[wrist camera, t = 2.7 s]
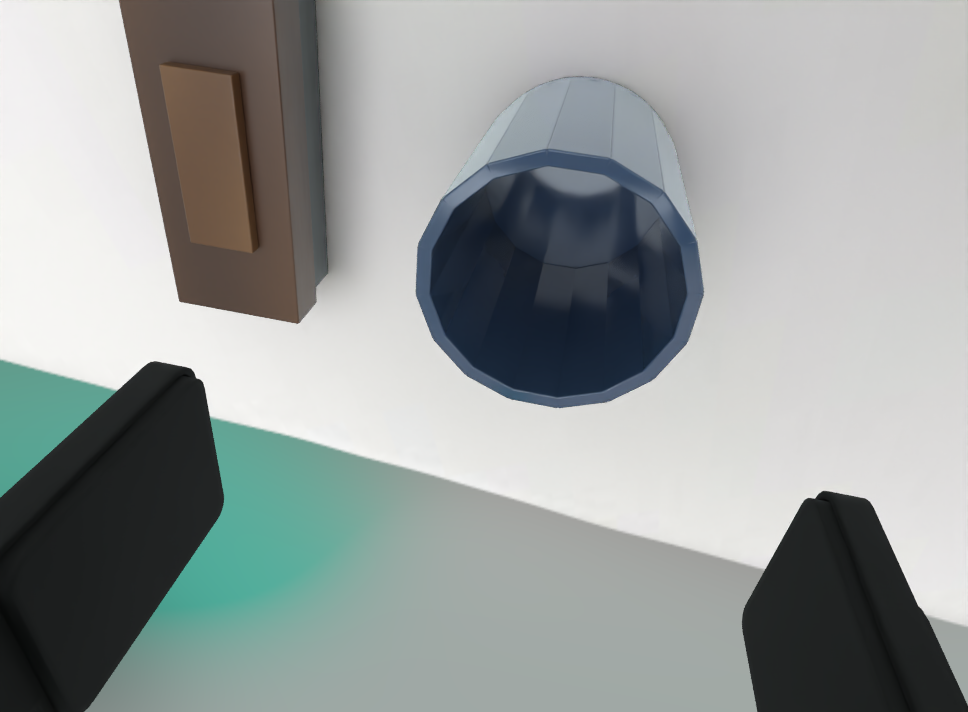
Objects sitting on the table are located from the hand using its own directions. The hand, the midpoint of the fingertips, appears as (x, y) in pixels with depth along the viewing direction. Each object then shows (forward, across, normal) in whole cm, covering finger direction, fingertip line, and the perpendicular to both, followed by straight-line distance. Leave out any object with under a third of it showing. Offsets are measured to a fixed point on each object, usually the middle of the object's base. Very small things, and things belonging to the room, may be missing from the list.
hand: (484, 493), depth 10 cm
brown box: (+16, +11, 0) cm, 20 cm away
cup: (+16, -1, 0) cm, 16 cm away
